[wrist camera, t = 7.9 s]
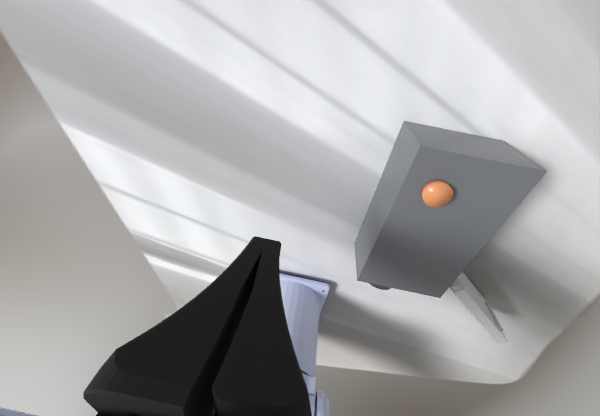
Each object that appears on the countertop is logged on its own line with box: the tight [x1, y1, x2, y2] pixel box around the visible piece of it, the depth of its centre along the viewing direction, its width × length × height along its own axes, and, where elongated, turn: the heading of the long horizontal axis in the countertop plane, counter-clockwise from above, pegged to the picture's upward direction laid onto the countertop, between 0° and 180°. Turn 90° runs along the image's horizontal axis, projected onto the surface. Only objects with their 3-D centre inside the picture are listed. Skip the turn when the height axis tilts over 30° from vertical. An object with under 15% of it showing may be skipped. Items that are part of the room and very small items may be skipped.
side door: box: [450, 272, 507, 343], centre depth 23 cm, size 10×1×4 cm, turn 43°
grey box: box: [355, 121, 547, 298], centre depth 19 cm, size 13×7×5 cm, turn 171°
